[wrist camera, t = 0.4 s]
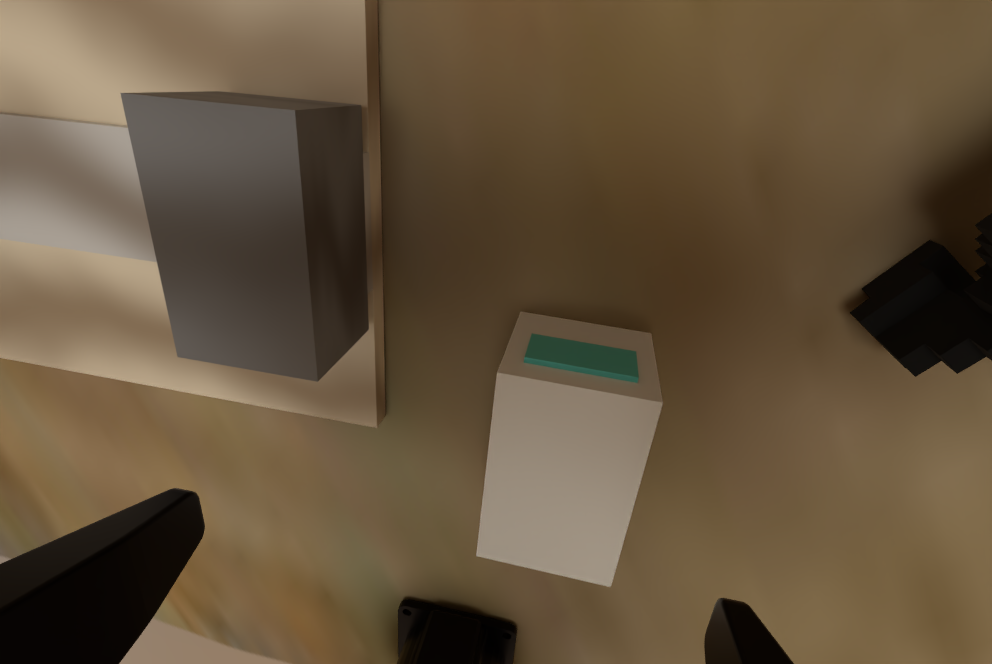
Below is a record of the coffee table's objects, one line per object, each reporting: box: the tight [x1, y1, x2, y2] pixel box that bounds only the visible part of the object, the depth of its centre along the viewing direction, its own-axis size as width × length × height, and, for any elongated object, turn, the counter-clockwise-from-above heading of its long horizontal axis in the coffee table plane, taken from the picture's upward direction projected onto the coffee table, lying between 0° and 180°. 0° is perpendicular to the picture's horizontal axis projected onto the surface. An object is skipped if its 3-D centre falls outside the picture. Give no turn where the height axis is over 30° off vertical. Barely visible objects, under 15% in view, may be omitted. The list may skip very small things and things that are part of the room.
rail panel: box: [0, 0, 386, 428], centre depth 19 cm, size 18×24×6 cm
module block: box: [476, 311, 663, 587], centre depth 20 cm, size 8×5×5 cm, turn 174°
